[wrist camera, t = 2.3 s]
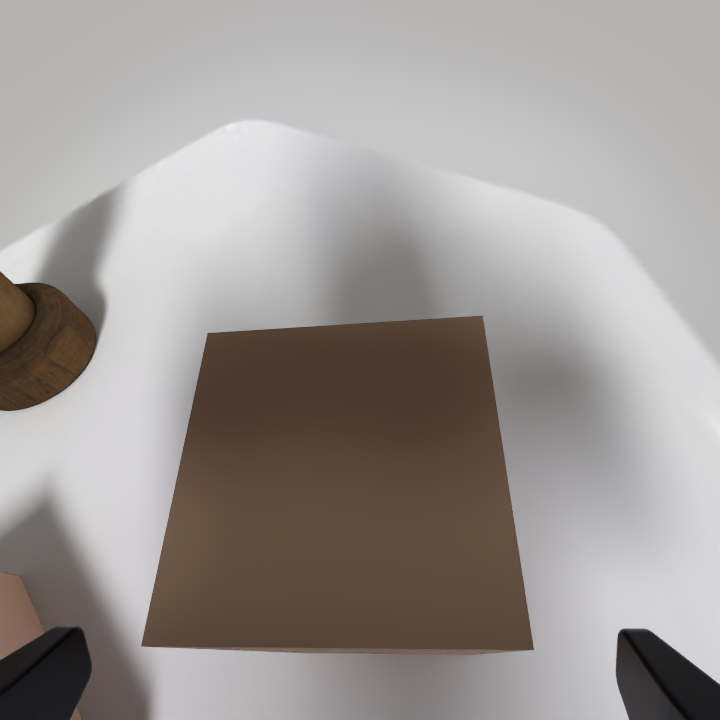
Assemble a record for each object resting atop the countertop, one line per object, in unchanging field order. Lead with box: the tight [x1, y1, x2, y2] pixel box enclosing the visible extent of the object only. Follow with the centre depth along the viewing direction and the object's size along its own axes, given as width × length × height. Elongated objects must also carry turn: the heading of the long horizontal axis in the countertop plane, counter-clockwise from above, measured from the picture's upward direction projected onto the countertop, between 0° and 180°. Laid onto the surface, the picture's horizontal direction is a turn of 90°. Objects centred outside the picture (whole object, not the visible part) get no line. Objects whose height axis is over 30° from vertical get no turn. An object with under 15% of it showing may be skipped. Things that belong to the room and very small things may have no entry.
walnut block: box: [141, 316, 534, 654], centre depth 14 cm, size 6×6×11 cm
